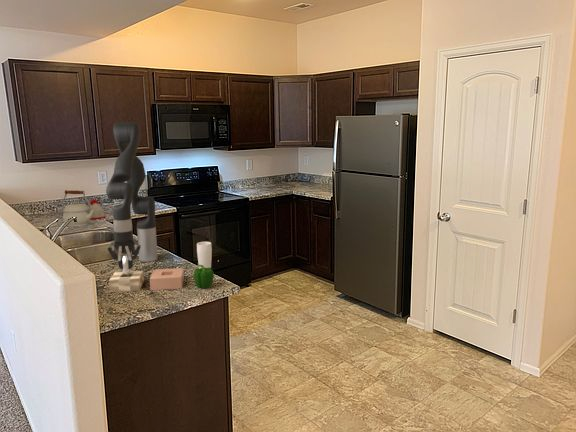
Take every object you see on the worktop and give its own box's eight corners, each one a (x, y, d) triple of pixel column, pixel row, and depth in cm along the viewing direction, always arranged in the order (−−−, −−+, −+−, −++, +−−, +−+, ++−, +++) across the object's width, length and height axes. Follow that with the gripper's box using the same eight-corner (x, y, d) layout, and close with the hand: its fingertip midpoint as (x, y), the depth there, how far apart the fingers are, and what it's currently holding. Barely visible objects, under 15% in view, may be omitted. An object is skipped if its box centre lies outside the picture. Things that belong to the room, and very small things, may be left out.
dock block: (154, 280, 201) (153, 269, 200) (183, 278, 203) (183, 268, 202) (150, 290, 188) (149, 278, 187) (181, 288, 190) (181, 277, 189)
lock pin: (124, 281, 194) (122, 254, 191) (131, 280, 194) (129, 254, 192) (123, 283, 191) (120, 256, 188) (130, 282, 191) (128, 256, 189)
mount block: (115, 282, 198) (115, 271, 197) (143, 281, 199) (143, 270, 198) (109, 292, 186) (108, 280, 185) (139, 290, 188) (138, 279, 187)
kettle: (55, 226, 313) (51, 191, 309) (72, 221, 331) (68, 188, 326) (87, 228, 309) (84, 192, 305) (102, 222, 327) (100, 189, 322)
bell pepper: (217, 284, 195) (216, 262, 193) (209, 290, 187) (208, 267, 185) (199, 282, 197) (198, 261, 195) (191, 289, 189) (190, 266, 187)
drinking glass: (207, 271, 213) (206, 240, 210) (215, 274, 208) (214, 243, 205) (195, 274, 208) (193, 243, 206) (203, 277, 204) (201, 245, 201)
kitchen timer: (81, 219, 340) (80, 200, 337) (94, 216, 353) (92, 197, 350) (97, 220, 336) (95, 200, 333) (109, 217, 349) (107, 198, 346)
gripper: (141, 226, 193) (144, 265, 196) (107, 228, 190) (111, 266, 194) (138, 230, 185) (141, 270, 189) (103, 232, 183) (107, 272, 187)
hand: (126, 268), depth 191 cm, fingers closed on lock pin, 3 cm apart
